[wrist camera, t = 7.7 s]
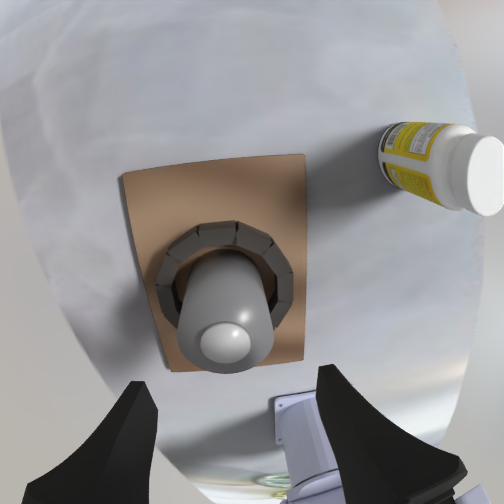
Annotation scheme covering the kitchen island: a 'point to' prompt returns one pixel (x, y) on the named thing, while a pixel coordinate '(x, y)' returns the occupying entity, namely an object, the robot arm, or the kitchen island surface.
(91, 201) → the kitchen island surface
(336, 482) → the robot arm
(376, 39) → the kitchen island surface
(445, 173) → the supplement bottle
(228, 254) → the cap
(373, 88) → the kitchen island surface
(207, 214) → the ring board
